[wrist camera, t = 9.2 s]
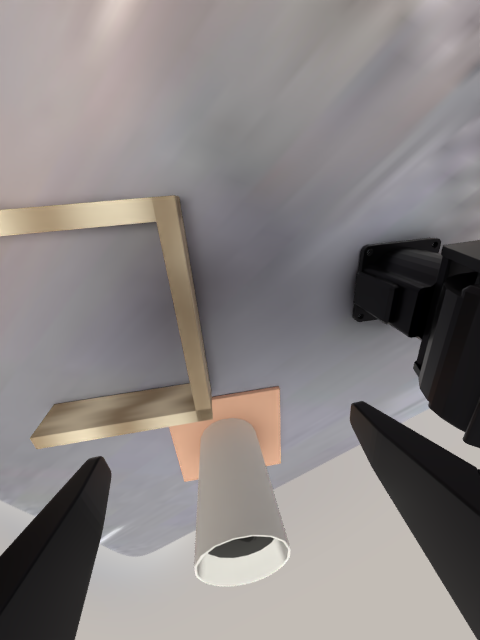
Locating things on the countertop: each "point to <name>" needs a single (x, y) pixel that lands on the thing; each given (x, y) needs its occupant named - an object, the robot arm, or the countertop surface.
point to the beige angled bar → (195, 397)
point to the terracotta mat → (247, 406)
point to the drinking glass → (236, 509)
